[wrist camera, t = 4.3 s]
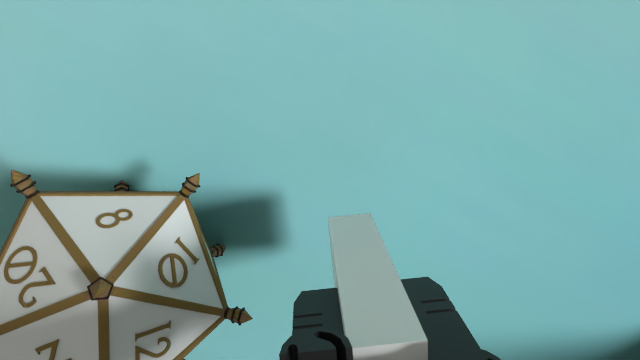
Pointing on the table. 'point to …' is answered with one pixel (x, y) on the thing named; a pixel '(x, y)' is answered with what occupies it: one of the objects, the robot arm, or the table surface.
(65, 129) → the table surface
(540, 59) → the table surface
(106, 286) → the game die
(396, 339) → the robot arm
